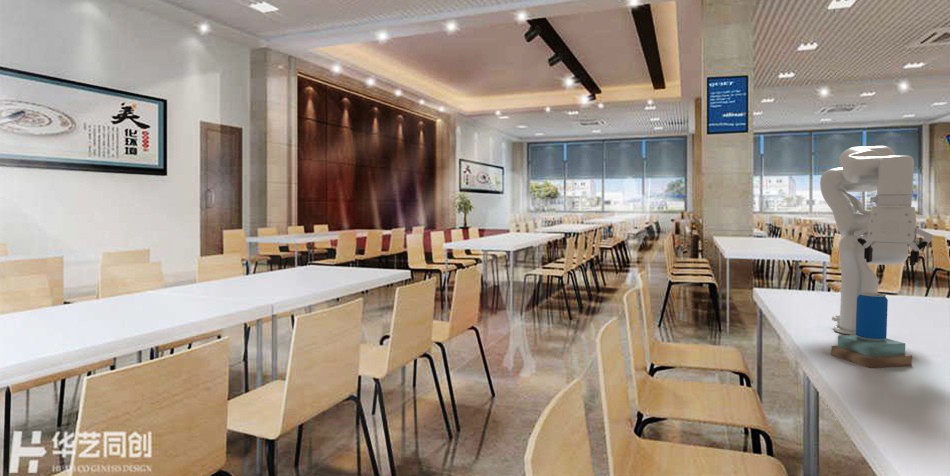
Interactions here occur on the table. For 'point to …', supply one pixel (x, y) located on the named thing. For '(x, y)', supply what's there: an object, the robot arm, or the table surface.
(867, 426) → the table surface
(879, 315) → the beverage can
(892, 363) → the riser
